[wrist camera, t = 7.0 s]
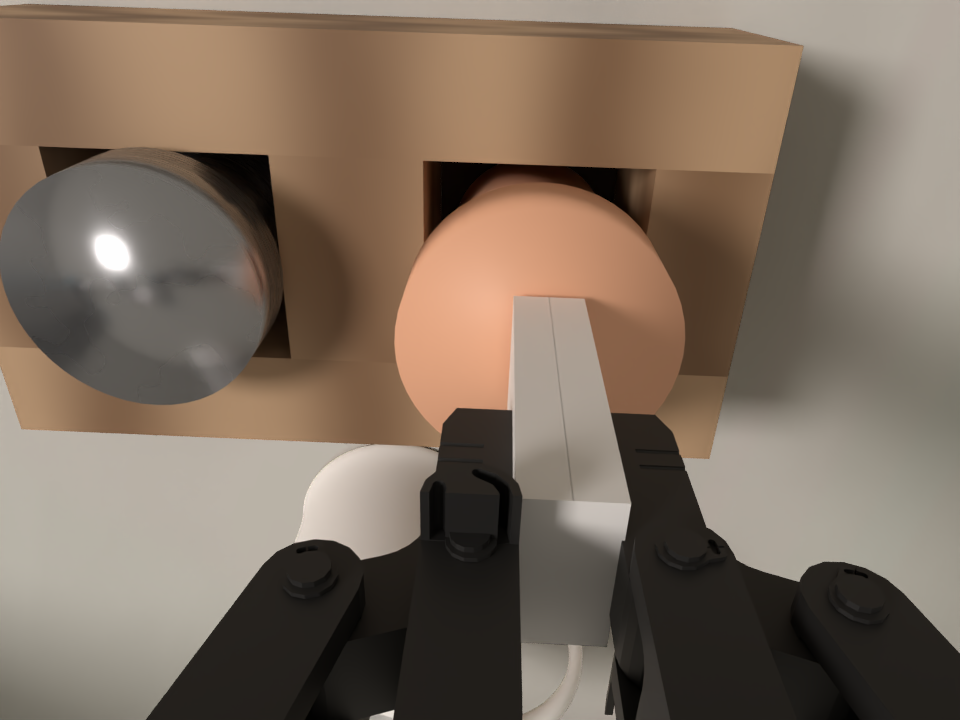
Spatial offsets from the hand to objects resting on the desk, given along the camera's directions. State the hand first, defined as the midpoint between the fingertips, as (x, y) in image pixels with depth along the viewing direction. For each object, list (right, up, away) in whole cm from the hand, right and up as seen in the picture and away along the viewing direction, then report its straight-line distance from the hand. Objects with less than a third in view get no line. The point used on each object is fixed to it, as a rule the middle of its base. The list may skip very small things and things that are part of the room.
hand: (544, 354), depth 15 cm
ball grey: (-10, +5, +9) cm, 14 cm away
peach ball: (0, +4, +7) cm, 8 cm away
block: (-5, +5, +9) cm, 12 cm away
